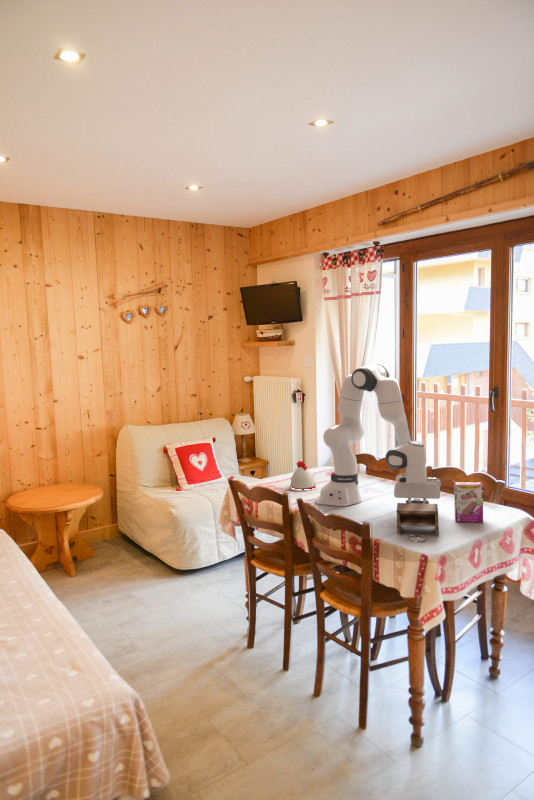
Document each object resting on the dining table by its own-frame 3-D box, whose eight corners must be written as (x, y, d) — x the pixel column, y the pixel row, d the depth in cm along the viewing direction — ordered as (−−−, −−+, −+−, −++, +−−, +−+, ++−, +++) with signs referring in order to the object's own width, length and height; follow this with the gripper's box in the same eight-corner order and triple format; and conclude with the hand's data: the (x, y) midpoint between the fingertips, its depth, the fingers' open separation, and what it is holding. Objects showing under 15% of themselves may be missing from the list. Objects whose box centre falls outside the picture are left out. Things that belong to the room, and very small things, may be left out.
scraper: (404, 524, 231) (404, 511, 230) (406, 510, 249) (405, 497, 249) (429, 525, 228) (429, 511, 227) (428, 511, 247) (428, 498, 246)
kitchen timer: (304, 483, 309) (303, 457, 308) (320, 487, 298) (319, 460, 296) (285, 488, 301) (284, 461, 300) (301, 492, 290) (299, 465, 288)
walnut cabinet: (397, 534, 220) (396, 510, 219) (398, 526, 230) (397, 502, 229) (438, 536, 216) (438, 511, 215) (437, 527, 225) (437, 503, 224)
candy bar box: (455, 522, 230) (454, 484, 229) (454, 518, 235) (453, 481, 233) (483, 523, 228) (483, 484, 226) (482, 519, 232) (481, 481, 231)
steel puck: (409, 542, 212) (409, 539, 211) (409, 537, 217) (409, 533, 217) (425, 543, 210) (425, 539, 210) (425, 537, 216) (425, 534, 216)
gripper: (440, 476, 244) (441, 505, 245) (393, 475, 250) (394, 504, 251) (441, 479, 238) (441, 510, 239) (393, 478, 243) (394, 508, 245)
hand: (417, 507), depth 245 cm, fingers closed on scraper, 3 cm apart
